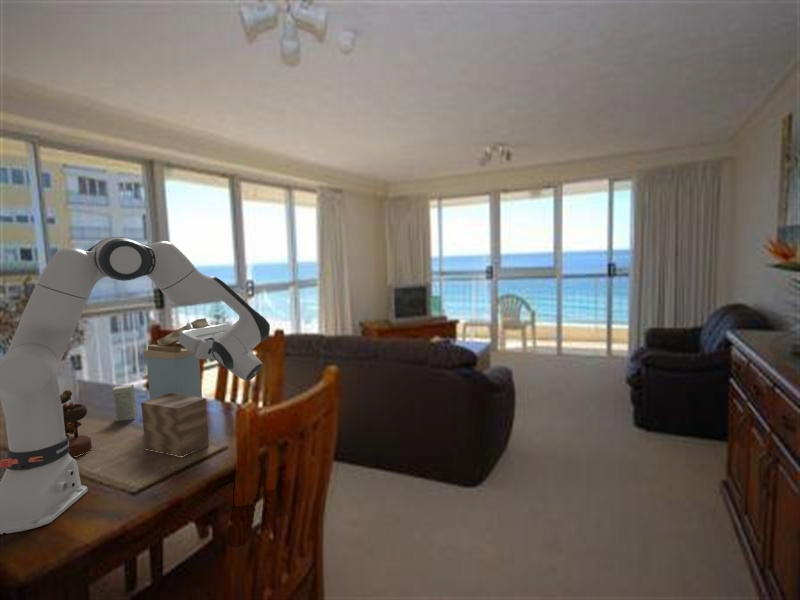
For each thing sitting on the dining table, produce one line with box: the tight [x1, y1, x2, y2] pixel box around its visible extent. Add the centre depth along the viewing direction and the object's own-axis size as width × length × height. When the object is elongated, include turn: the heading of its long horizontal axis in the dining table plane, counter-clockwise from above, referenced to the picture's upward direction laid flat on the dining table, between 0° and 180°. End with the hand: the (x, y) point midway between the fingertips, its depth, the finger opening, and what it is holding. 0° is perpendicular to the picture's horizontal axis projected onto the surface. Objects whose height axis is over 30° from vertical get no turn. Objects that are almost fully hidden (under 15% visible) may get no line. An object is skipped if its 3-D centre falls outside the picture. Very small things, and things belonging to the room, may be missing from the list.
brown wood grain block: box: [141, 393, 210, 456], centre depth 143 cm, size 16×10×15 cm, turn 65°
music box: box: [60, 389, 93, 457], centre depth 142 cm, size 15×11×20 cm
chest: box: [143, 342, 203, 400], centre depth 164 cm, size 15×11×28 cm
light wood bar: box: [156, 317, 208, 346], centre depth 159 cm, size 22×4×3 cm, turn 65°
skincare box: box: [111, 383, 138, 422], centre depth 171 cm, size 6×4×12 cm
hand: (194, 323), depth 156 cm, fingers closed on light wood bar, 3 cm apart
